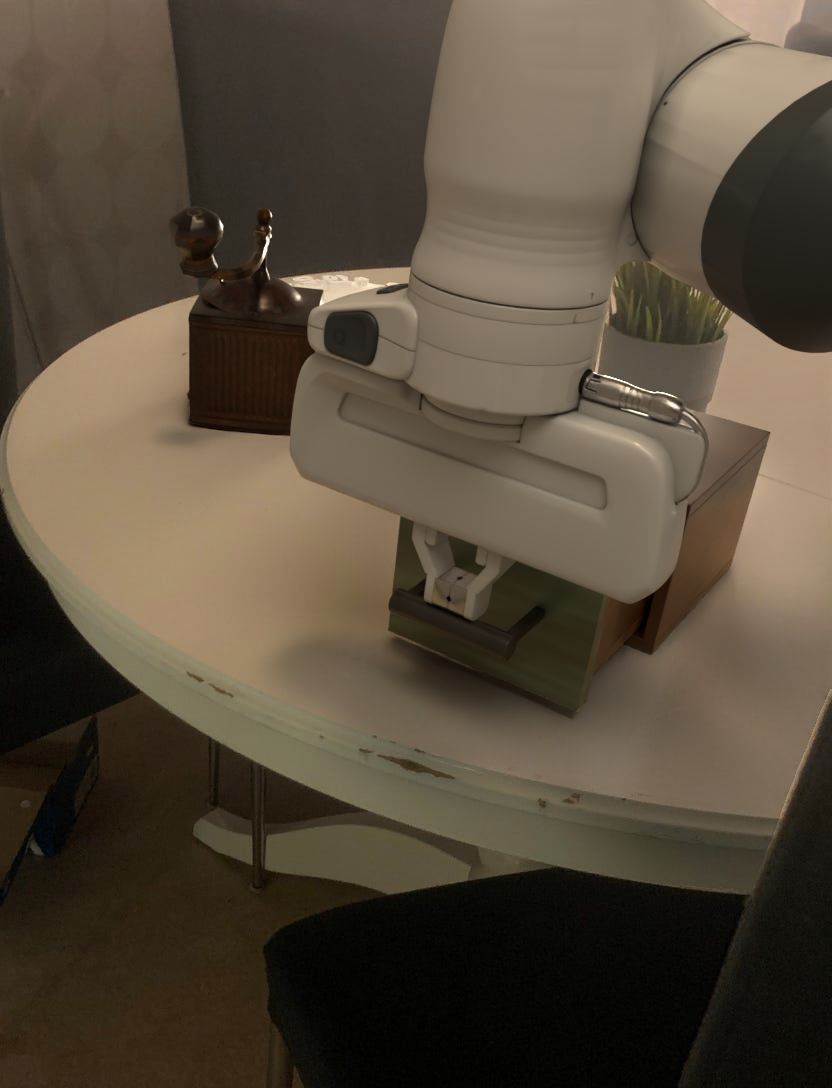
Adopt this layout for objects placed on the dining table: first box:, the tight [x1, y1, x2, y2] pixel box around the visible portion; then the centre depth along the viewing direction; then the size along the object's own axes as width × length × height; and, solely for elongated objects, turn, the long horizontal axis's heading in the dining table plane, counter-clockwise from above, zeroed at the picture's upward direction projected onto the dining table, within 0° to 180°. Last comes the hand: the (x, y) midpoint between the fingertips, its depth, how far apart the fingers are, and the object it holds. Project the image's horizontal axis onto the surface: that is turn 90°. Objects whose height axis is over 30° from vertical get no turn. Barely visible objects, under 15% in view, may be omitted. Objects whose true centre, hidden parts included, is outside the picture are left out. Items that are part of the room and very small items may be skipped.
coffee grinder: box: [168, 205, 324, 436], centre depth 89 cm, size 16×11×18 cm
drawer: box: [387, 516, 654, 713], centre depth 64 cm, size 18×12×8 cm
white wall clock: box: [288, 274, 398, 304], centre depth 115 cm, size 20×20×3 cm
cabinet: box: [623, 407, 771, 655], centre depth 73 cm, size 15×14×10 cm
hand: (454, 607), depth 58 cm, fingers closed, pressing on drawer
